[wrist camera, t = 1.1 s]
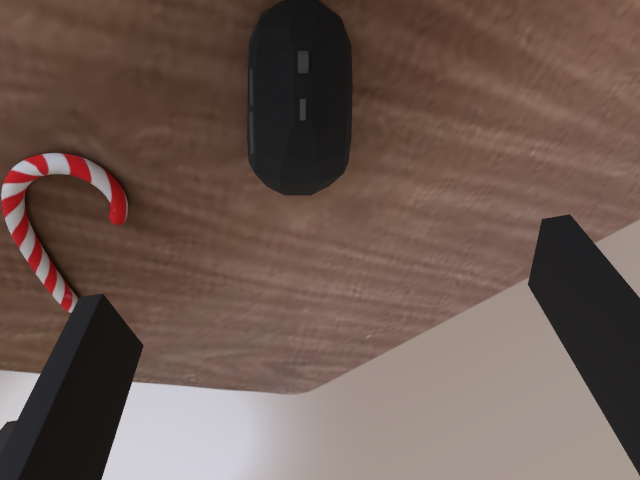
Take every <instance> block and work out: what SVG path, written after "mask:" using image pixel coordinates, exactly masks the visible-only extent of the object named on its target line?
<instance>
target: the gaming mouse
mask: <svg viewBox="0 0 640 480" xmlns="http://www.w3.org/2000/svg"><path fill="white" fill-rule="evenodd" d="M351 124H352V60H351V44H350V41H349V39H348V36H347V33H346V31H345V28H344V25H343V22H342V20H341V17H339V16H337V15H336V14H334V13H332V12H331V11H330V10H329V9H327V8H326V7H325V6H323V5H322V4H321V3H319V2H318V1H317V0H285V1H283V2H282V3H280V4H278V5H277V6H275V7H273V8H271V9H270V10H268V11H266V12H265V13H263V14H261V16H260V19H259V21H258V23H257V25H256V28H255V30H254V32H253V34H252V37H251V39H250V41H249V68H248V128H247V141H248V157H249V163H250V165H251V167H252V169H253V171H254V173H255V174H256V175H257V176H258V177H259V178H260V179H261V181H262V182H263V183H264V184H265V185H266V186H267V187H269V188H271V189H273V190H275V191H277V192H279V193H281V194H283V195H312V194H314V193H316V192H318V191H320V190H322V189H324V188H326V187H329V186H330V185H331V184H332V183H333V182H334V181H335V180H337V179H338V178H339V177H340V176H341V175H342V174H343V173H344V171H345V169H346V166H347V164H348V160H349V152H350V144H351Z"/></svg>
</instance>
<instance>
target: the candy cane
mask: <svg viewBox="0 0 640 480" xmlns="http://www.w3.org/2000/svg"><path fill="white" fill-rule="evenodd" d="M49 174H66V175H72V176H76V177H79V178H81V179H83V180H85V181H87V182H89V183H91V184H92V185H94V186H95V187H97V188H98V189H99V190H100V191H101V192H102V193H103V194H104V195H105V196H106V197H107V198H108V200H109V203H110V214H109V219H110V221H111V222H112V223H113V224H116V225H121V224H123V223H124V222H125V221H126V218H127V215H128V201H127V197H126V195H125V193H124V190H123V189H122V187H121V186H120V184H119V183H118V182H117V181H116V180H115V179H114V178H113V177H112V176H111V175H110V174H109V173H108V172H107V171H105V170H104V169H103V168H101V167H100V166H98V165H97V164H95V163H93V162H91V161H90V160H88V159H85V158H82V157H79V156H75V155H70V154H63V153H47V154H40V155H36V156H32V157H29V158H27V159H25V160H23V161H21V162H19V163H18V164H17V165H16V166H14V167H13V168H12V169H11V171H10V172H9V173H8V175H7V176H6V178H5V180H4V183H3V186H2V192H1V203H2V210H3V214H4V218H5V221H6V224H7V226H8V229H9V231H10V233H11V235H12V237H13V239H14V241H15V242H16V244H17V246H18V247H19V249H20V251H21V252H22V254H23V255H24V257H25V259H26V260H27V262H28V263H29V265H30V266H31V268H32V269H33V270H34V272H35V273H36V275H37V276H38V277H39V279H40V280H41V282H42V283H43V284H44V285H45V287H46V288H47V289H48V291H49V292H50V293H51V294H52V295H53V297H54V298H55V299H56V300H57V301H58V303H59V304H60V305H61V306H62V307H63V308H64V309H65V310H66V311H67V312H71V313H72V311H73V309H74V307H75V305H76V303H77V301H78V297H77V296H76V295H75V293H74V292H73V291H72V290H71V288H70V287H69V286H68V284H67V283H66V282H65V280H64V279H63V278H62V276H61V275H60V274H59V272H58V271H57V269H56V268H55V266H54V265H53V263H52V262H51V260H50V258H49V257H48V255H47V254H46V252H45V250H44V249H43V247H42V245H41V243H40V242H39V240H38V238H37V236H36V234H35V233H34V231H33V229H32V226H31V224H30V222H29V219H28V216H27V213H26V209H25V199H24V198H25V192H26V189H27V187H28V186H29V184H30V183H31V182H32V181H33V180H35V179H37V178H39V177H41V176H45V175H49Z"/></svg>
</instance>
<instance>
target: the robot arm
mask: <svg viewBox="0 0 640 480" xmlns="http://www.w3.org/2000/svg"><path fill="white" fill-rule="evenodd" d="M528 286H529V287H530V289H531V291H532V293H533V294H534V296H535V298H536V299H537V301H538V303H539V304H540V306H541V308H542V309H543V311H544V313H545V314H546V316H547V318H548V320H549V321H550V323H551V325H552V327H553V328H554V330H555V332H556V334H557V335H558V337H559V339H560V340H561V342H562V344H563V345H564V347H565V349H566V351H567V352H568V354H569V356H570V357H571V359H572V361H573V363H574V364H575V366H576V368H577V369H578V371H579V373H580V374H581V376H582V378H583V380H584V381H585V383H586V385H587V386H588V388H589V390H590V392H591V393H592V395H593V397H594V398H595V400H596V402H597V403H598V405H599V407H600V408H601V410H602V412H603V414H604V415H605V417H606V419H607V421H608V422H609V424H610V426H611V427H612V429H613V431H614V432H615V434H616V436H617V437H618V439H619V441H620V443H621V444H622V446H623V448H624V450H625V451H626V453H627V455H628V456H629V458H630V460H631V461H632V463H633V465H634V467H635V468H636V470H637V472H638V473H639V475H640V298H639V297H638V295H637V294H636V293H635V292H634V291H633V290H632V288H631V287H630V286H629V285H628V283H627V282H626V281H625V280H624V279H623V277H622V276H621V275H620V274H619V273H618V272H617V270H616V269H615V268H614V267H613V265H612V264H611V263H610V262H609V261H608V259H607V258H606V257H605V256H604V255H603V253H602V252H601V251H600V250H599V249H598V248H597V246H596V245H595V244H594V243H593V241H592V240H591V239H590V238H589V237H588V235H587V234H586V233H585V232H584V231H583V229H582V228H581V227H580V226H579V225H578V223H577V222H576V221H575V220H574V219H573V217H572V216H571V215H564V216H558V217H552V218H546V219H542V222H541V227H540V231H539V236H538V240H537V245H536V250H535V254H534V259H533V264H532V268H531V273H530V278H529V282H528ZM142 349H143V344H142V343H141V342H140V340H139V339H138V338H137V337H136V335H135V334H134V333H133V331H132V330H131V329H130V328H129V326H128V325H127V324H126V323H125V321H124V320H123V319H122V317H121V316H120V315H119V314H118V312H117V311H116V310H115V308H114V307H113V306H112V305H111V303H110V302H109V301H108V299H107V298H106V297H105V296H104V294H97V295H91V296H85V297H79V299H78V301H77V303H76V305H75V307H74V309H73V311H72V313H71V315H70V317H69V319H68V321H67V323H66V325H65V327H64V329H63V331H62V333H61V335H60V337H59V339H58V341H57V343H56V345H55V347H54V349H53V351H52V353H51V355H50V357H49V359H48V361H47V363H46V365H45V366H44V368H43V370H42V372H41V374H40V376H39V378H38V380H37V382H36V384H35V386H34V388H33V390H32V392H31V394H30V396H29V398H28V400H27V402H26V404H25V406H24V408H23V410H22V412H21V414H20V416H19V418H18V420H17V421H11V422H7V423H6V424H5V425H4V426H3V428H2V429H1V430H0V480H101V479H102V476H103V473H104V469H105V466H106V463H107V460H108V457H109V454H110V450H111V447H112V444H113V441H114V438H115V434H116V431H117V428H118V425H119V422H120V419H121V415H122V412H123V409H124V406H125V403H126V399H127V396H128V393H129V390H130V387H131V384H132V380H133V377H134V374H135V371H136V368H137V364H138V361H139V358H140V355H141V352H142Z"/></svg>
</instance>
